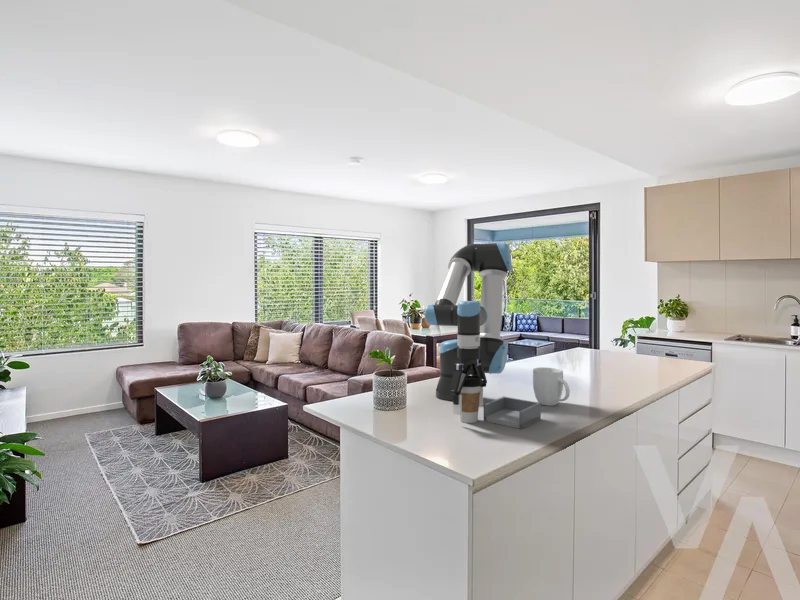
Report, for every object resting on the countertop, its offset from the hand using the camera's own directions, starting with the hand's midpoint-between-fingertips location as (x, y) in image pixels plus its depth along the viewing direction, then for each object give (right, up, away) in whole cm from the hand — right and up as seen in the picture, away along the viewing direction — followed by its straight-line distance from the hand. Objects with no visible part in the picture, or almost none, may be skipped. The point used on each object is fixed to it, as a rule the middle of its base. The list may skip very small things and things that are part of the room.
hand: (468, 409), depth 155 cm
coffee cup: (0, -4, 0) cm, 4 cm away
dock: (+15, -4, +1) cm, 15 cm away
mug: (+34, -3, +20) cm, 39 cm away
